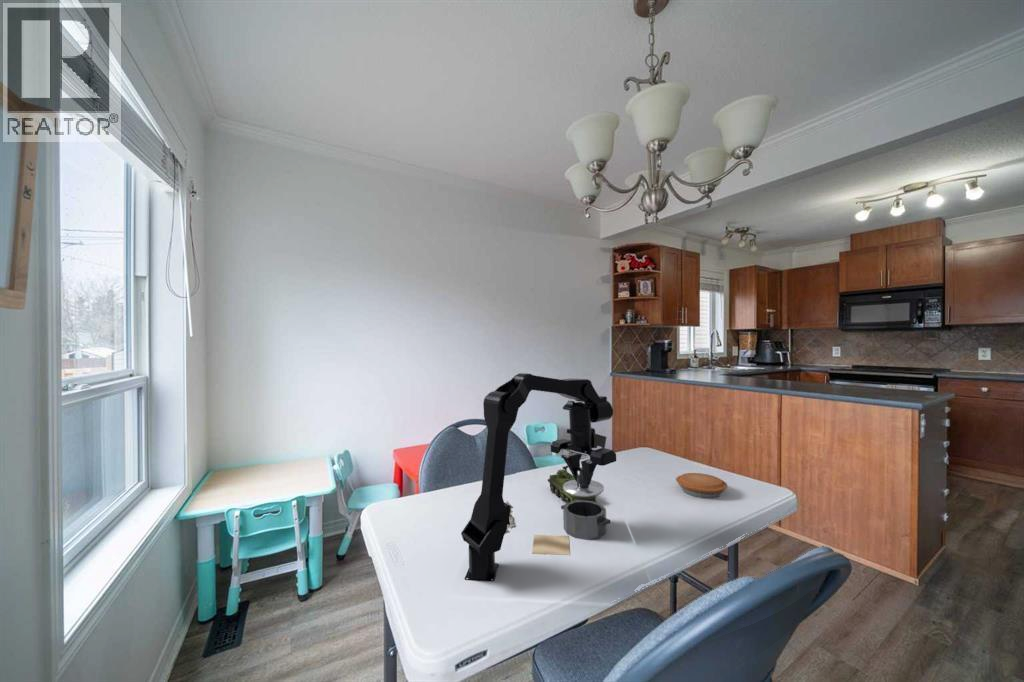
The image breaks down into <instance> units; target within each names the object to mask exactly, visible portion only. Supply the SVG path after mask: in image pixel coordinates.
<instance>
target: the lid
mask: <svg viewBox="0 0 1024 682" xmlns="http://www.w3.org/2000/svg"><path fill="white" fill-rule="evenodd" d="M576 472H577V482H576V480H571V481H568V482H566V483H564V484H563V490H564V491H565V492H566V493H568V494H571V495H573V496H576V497H581V498H589V497H593V496H595V497H597V496H599V495H601V494H602V493H603V492H604V490H605V487H604V484H602V483H601V482H599V481H596V480H593V479H591V482H590V485H586V483H585V479H584V474H583V469H582V467H580V468H577V469H576ZM596 495H597V496H596Z"/></svg>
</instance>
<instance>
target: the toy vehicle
mask: <svg viewBox="0 0 1024 682" xmlns="http://www.w3.org/2000/svg"><path fill="white" fill-rule="evenodd" d="M568 468H569V467H568V465H566V466H562V469H558V470H557V471H556V474H550V475H549V478H547V482H548V483H549V488H550V492H551V493H552V494H554V495H555V496H556V497H560V499H561V501H562V502H563V503H565V504H567V503H569V502H572V501H580V500H585V501H593V502H596V503H597V498H596V497H597V496H598V495H596V496H593V497H589V498H581V497H576V496H573V495H571V494H568V493H566V492H565V491H564V490H563V484H564V483H566V482H568V481H571V480H575V478H574V476H573V475H572V473H571V472H569V471H568Z"/></svg>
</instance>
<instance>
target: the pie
mask: <svg viewBox="0 0 1024 682" xmlns="http://www.w3.org/2000/svg"><path fill="white" fill-rule="evenodd" d="M675 481H676V483H677V484H678V485H679V486H680V488H681V490H682V491H683V493H685V494H686V495H689V496H691V497H694V498H699V499H709V500H710V499H717V498H719V497H721V495H722V494H723V492H724V491H725V490H726V489H727V488H728V483H727V482H726V481H724V480H722V479H721V478H720V477H718V476H715V475H711V474H709V473H708V474H707V473H702V472H687V473H683V474H681V475H678V476H677V477H676V478H675Z"/></svg>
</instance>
